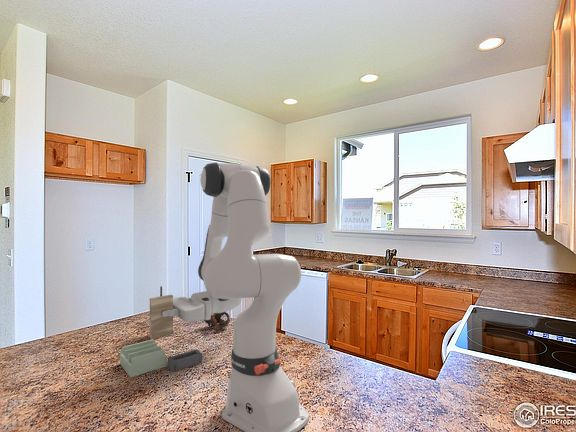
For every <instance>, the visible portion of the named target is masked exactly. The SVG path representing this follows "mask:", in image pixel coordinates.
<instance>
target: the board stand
mask: <svg viewBox="0 0 576 432" xmlns="http://www.w3.org/2000/svg"><path fill="white" fill-rule="evenodd" d="M201 363H203V352H201V351H200V350H198V349H197V348H196V349H192V350H190V351H186V352H182V353H178V354H176V355H172V356H169V357H167V368H168V369H169V370H170V371H171V372H172V373H173V372H177V371H180V370H183V369H186V368H188V367H192V366H196V365H198V364H201Z"/></svg>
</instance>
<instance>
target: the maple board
mask: <svg viewBox="0 0 576 432" xmlns="http://www.w3.org/2000/svg"><path fill="white" fill-rule="evenodd" d="M173 298H174V295H173V294H168V295H167V294H166V295H162V296H156V297H150V298H149V338H150V340H152V339H153V340H154V339H159V338H163V337H168V336H171V335H174V316H167V317H163V316H162V315H161V312H162V311H163V310H173Z"/></svg>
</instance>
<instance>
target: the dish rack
mask: <svg viewBox="0 0 576 432" xmlns="http://www.w3.org/2000/svg"><path fill="white" fill-rule="evenodd" d="M154 341H155V340H154V339H149V340H145V341H140V342H138V343H133V344H130V345H129V344H128V345H125V346H122V347H121V353H120V354H119V364H120V366H121V367H122V369H123V370H124V371H125V372H126V374H127V375H128V377H129V378H133V377H137V376H140V375H144V374H145V373H150V372H152V371H156V370H159V369H163V368H165V367H168V355H167V354H165V353H166V349H165V348H163V349H162V346H161V345H158V342H154Z"/></svg>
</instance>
